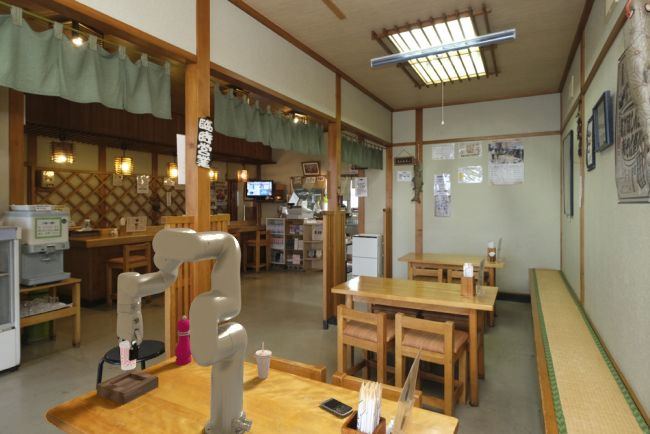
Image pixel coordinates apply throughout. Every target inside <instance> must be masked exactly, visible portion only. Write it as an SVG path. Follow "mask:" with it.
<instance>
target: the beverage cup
mask: <svg viewBox="0 0 650 434" xmlns="http://www.w3.org/2000/svg"><path fill="white" fill-rule="evenodd" d="M132 343H133V344H134V343H135V341H134V342H132ZM119 347H120V355H121V356H120V366H121V367H120V368H121V370H122V371H129V370H135V368H136V366H137V359H135V360H132V361H129V349H130V345H129V341H127V340H126V341H123V342H121V343H119V344H118V348H119Z"/></svg>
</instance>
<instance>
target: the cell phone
mask: <svg viewBox="0 0 650 434" xmlns="http://www.w3.org/2000/svg"><path fill="white" fill-rule="evenodd" d="M319 407H321V408H322V409H324V410H327V411H328V412H329V413H332V414H334V415H336V416H338V417H340V418H345V417H347V416H349V415H351V414H352V413H353V412H354V409H355V408H354V407H352V406H351V405H348V404H346V403H344V402H342V401H341V400H338V399H337V398H336V399H335V398H333V397H330V398H328V399H327V400H324V401H322V402H320V403H319ZM351 412H352V413H351Z"/></svg>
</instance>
